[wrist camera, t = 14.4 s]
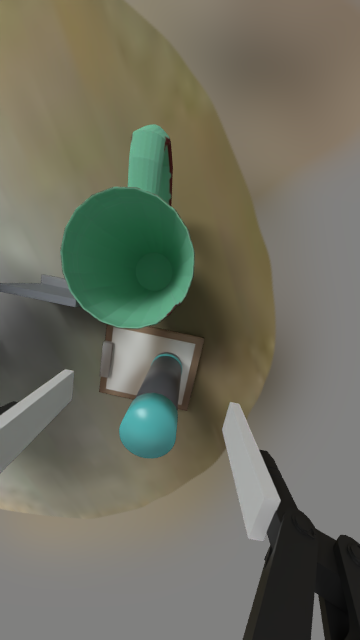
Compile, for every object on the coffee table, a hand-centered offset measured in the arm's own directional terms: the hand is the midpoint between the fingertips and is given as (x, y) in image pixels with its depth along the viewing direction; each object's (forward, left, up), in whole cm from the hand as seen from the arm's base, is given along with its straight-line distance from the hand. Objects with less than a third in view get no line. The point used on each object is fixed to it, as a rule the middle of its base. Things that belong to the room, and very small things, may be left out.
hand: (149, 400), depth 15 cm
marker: (0, -1, -9) cm, 9 cm away
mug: (-4, +13, -10) cm, 17 cm away
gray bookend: (-14, +6, -10) cm, 18 cm away
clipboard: (-2, -2, -10) cm, 10 cm away
